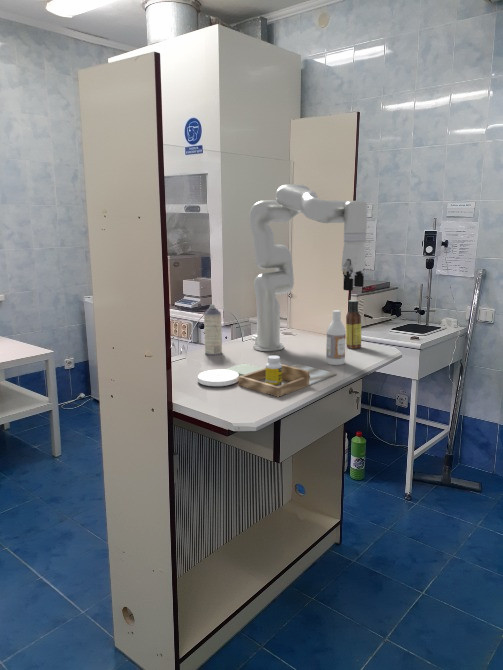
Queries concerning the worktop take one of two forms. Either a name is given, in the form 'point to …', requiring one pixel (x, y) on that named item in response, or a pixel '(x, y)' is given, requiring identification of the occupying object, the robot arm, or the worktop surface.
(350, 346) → the sauce bottle
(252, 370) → the tray
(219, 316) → the aerosol can
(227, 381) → the plastic lid
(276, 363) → the supplement bottle
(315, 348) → the worktop surface
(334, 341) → the bath foam
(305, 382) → the frame
